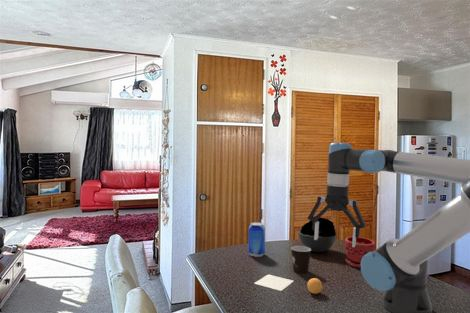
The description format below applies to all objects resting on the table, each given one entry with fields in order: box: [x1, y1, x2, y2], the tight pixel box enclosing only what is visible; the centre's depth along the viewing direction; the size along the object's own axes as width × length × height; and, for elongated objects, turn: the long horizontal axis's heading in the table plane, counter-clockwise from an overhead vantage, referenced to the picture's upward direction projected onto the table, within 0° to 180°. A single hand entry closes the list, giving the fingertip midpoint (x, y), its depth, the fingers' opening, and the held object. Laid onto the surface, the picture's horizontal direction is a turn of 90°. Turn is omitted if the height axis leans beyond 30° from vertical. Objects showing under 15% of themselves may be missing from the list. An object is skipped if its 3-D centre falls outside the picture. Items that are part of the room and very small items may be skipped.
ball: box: [306, 277, 323, 295], centre depth 123 cm, size 6×6×6 cm
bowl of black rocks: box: [298, 215, 338, 253], centre depth 177 cm, size 20×20×19 cm
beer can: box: [248, 221, 266, 258], centre depth 169 cm, size 8×8×16 cm
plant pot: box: [344, 236, 376, 269], centre depth 156 cm, size 13×13×12 cm
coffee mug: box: [290, 245, 312, 275], centre depth 148 cm, size 12×9×10 cm
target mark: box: [253, 273, 295, 292], centre depth 133 cm, size 12×12×1 cm
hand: (334, 242), depth 121 cm, fingers open, 13 cm apart
